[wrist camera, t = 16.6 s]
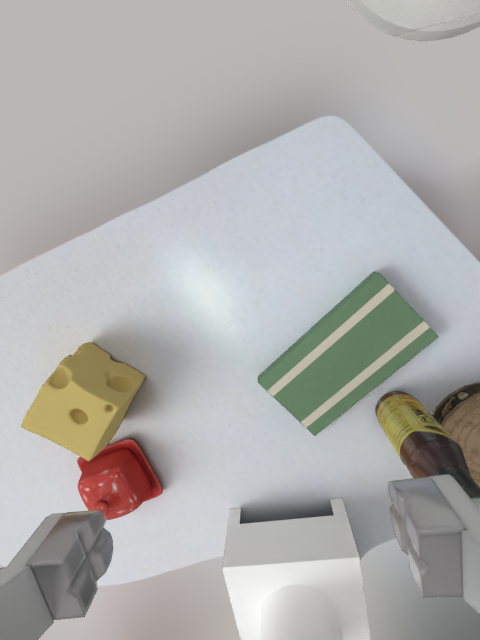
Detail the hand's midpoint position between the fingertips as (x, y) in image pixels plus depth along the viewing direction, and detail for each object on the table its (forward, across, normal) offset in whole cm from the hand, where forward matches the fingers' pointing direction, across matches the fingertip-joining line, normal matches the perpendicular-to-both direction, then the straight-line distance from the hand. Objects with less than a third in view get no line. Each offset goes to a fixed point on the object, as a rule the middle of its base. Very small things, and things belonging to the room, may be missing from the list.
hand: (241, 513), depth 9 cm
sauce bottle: (+37, -17, +20) cm, 46 cm away
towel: (+37, -10, +11) cm, 40 cm away
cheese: (+37, +26, +10) cm, 47 cm away
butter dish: (+37, +28, +26) cm, 53 cm away
